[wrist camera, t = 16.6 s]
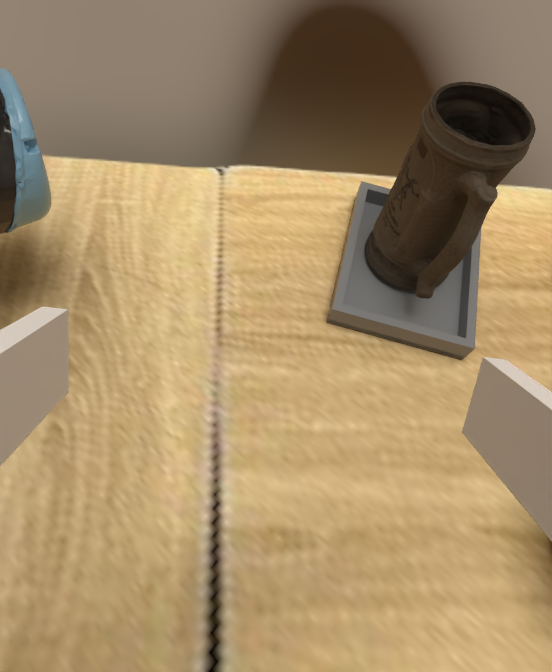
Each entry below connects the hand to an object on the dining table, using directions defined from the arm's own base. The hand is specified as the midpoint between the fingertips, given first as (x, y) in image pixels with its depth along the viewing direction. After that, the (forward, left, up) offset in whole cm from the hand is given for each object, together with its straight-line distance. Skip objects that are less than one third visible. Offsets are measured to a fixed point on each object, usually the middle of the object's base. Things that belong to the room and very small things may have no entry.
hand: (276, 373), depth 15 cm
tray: (+12, +32, -33) cm, 47 cm away
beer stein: (+13, +32, -32) cm, 47 cm away
